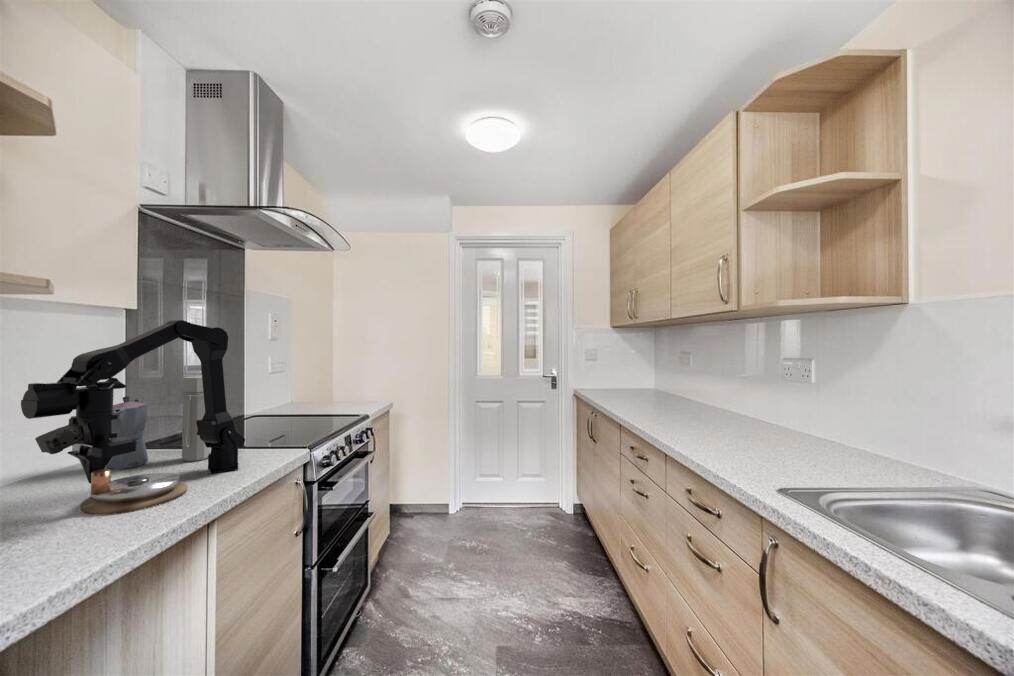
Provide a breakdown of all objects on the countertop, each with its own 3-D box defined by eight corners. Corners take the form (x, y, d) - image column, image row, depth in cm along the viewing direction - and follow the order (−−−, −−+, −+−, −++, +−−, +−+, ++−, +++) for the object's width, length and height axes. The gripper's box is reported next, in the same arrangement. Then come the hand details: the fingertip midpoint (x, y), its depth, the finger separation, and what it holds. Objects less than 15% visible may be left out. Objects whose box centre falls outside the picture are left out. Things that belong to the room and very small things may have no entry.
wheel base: (190, 480, 108) (190, 475, 108) (181, 503, 93) (182, 497, 93) (94, 493, 98) (95, 488, 98) (67, 521, 83) (67, 515, 83)
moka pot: (94, 474, 112) (95, 400, 112) (115, 460, 126) (116, 393, 126) (140, 469, 116) (141, 398, 117) (155, 456, 130) (156, 392, 130)
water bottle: (190, 456, 131) (191, 376, 131) (217, 455, 132) (218, 376, 132) (170, 464, 122) (171, 378, 122) (199, 463, 123) (200, 378, 123)
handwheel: (156, 478, 105) (156, 451, 105) (193, 486, 99) (193, 458, 99) (73, 499, 91) (73, 468, 91) (111, 510, 85) (111, 477, 85)
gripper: (17, 412, 86) (14, 488, 86) (72, 421, 80) (69, 503, 80) (86, 405, 96) (84, 472, 96) (139, 412, 90) (137, 484, 90)
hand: (92, 482), depth 91 cm, fingers closed
